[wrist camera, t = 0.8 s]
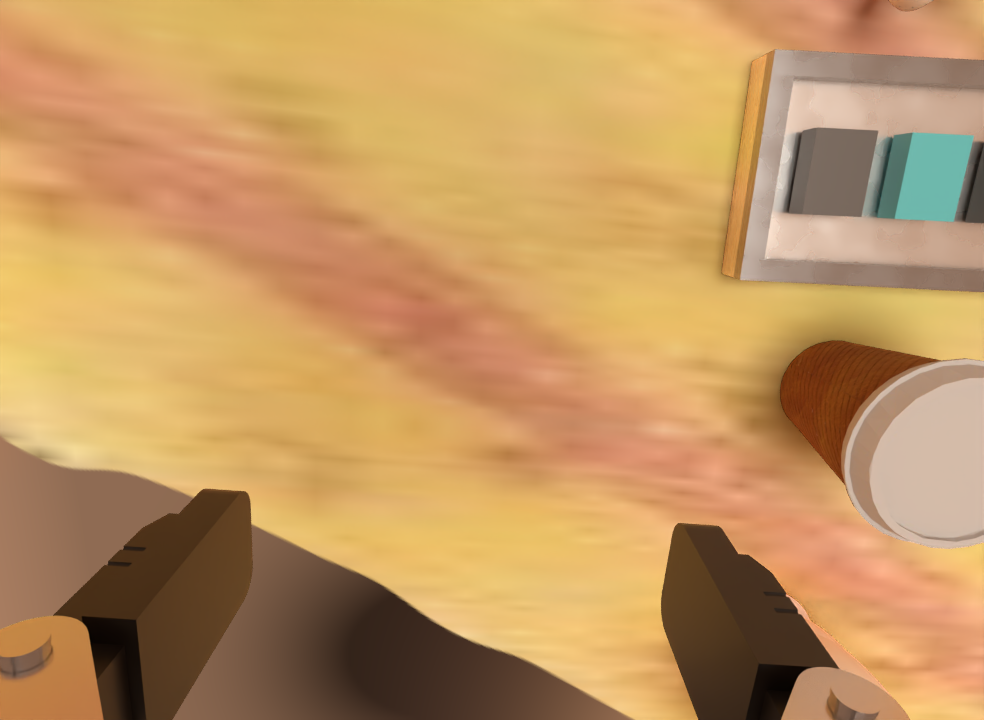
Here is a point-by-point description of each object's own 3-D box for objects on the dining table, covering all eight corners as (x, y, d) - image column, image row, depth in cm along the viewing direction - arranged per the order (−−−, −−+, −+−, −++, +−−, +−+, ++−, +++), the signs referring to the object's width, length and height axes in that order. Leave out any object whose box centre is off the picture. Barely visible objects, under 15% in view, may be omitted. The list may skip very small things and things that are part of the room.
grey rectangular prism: (802, 130, 34) (817, 127, 32) (861, 133, 34) (878, 130, 32) (788, 213, 35) (802, 214, 33) (845, 216, 35) (861, 217, 33)
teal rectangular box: (893, 135, 34) (913, 132, 32) (952, 138, 34) (974, 135, 32) (876, 217, 35) (894, 218, 33) (933, 220, 35) (953, 221, 33)
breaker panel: (752, 61, 35) (775, 49, 32) (1067, 78, 35) (1119, 67, 32) (721, 273, 38) (739, 279, 35) (1011, 288, 38) (1053, 295, 35)
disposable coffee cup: (772, 307, 39) (890, 356, 27) (921, 323, 39) (1102, 378, 27) (740, 448, 41) (836, 548, 29) (881, 462, 41) (1031, 567, 30)
